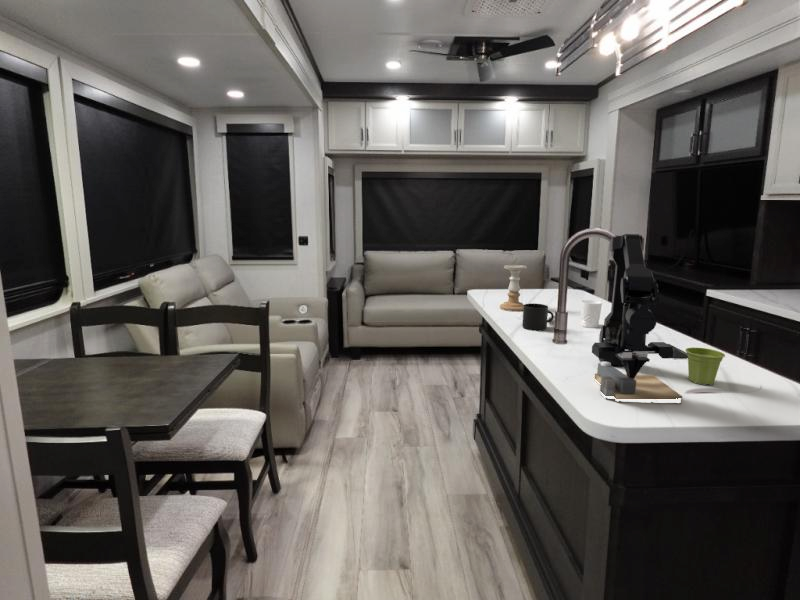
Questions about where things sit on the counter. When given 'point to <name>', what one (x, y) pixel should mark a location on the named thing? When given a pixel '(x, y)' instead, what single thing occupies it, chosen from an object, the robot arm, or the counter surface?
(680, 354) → the phone
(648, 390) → the tan wooden slab
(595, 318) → the white cup
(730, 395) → the counter surface
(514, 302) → the candle holder
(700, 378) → the plant pot
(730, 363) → the counter surface
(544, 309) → the mug
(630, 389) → the folding leg
